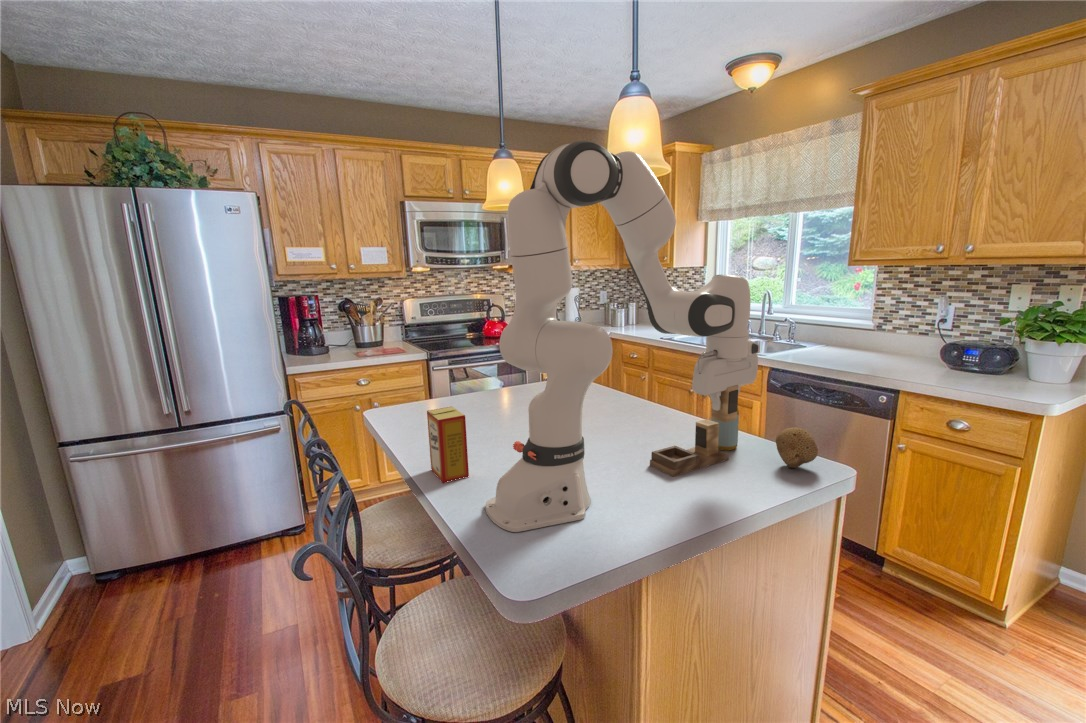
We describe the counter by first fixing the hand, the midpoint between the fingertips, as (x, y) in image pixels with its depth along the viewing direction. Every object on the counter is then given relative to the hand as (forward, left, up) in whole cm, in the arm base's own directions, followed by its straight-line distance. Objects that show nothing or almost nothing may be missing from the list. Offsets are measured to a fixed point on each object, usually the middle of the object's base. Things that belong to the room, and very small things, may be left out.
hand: (724, 407), depth 111 cm
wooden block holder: (0, +10, -17) cm, 20 cm away
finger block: (0, 0, -3) cm, 3 cm away
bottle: (+16, +13, -17) cm, 27 cm away
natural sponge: (+19, -6, -17) cm, 26 cm away
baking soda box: (-54, +37, -17) cm, 68 cm away
